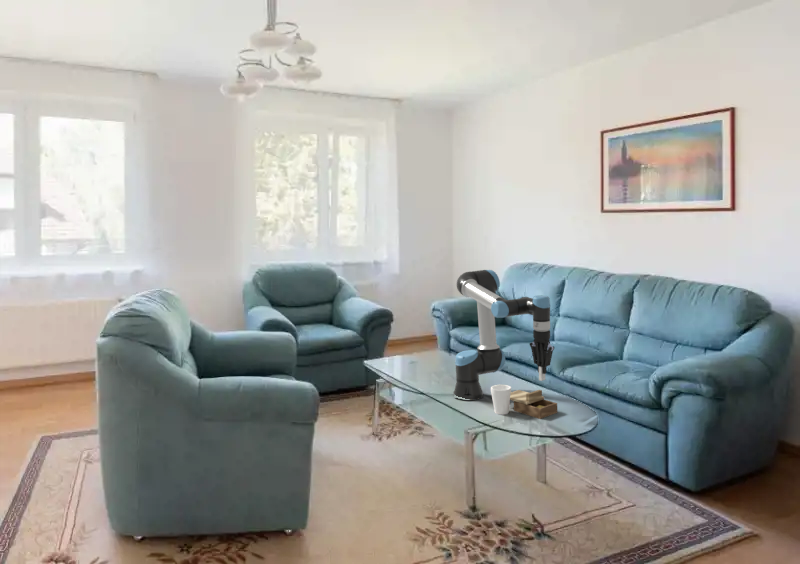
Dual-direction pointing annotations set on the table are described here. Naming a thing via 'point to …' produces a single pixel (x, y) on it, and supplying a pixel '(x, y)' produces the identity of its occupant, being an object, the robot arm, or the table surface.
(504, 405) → the foam cup
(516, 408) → the brown wooden box
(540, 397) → the lid
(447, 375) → the table surface
